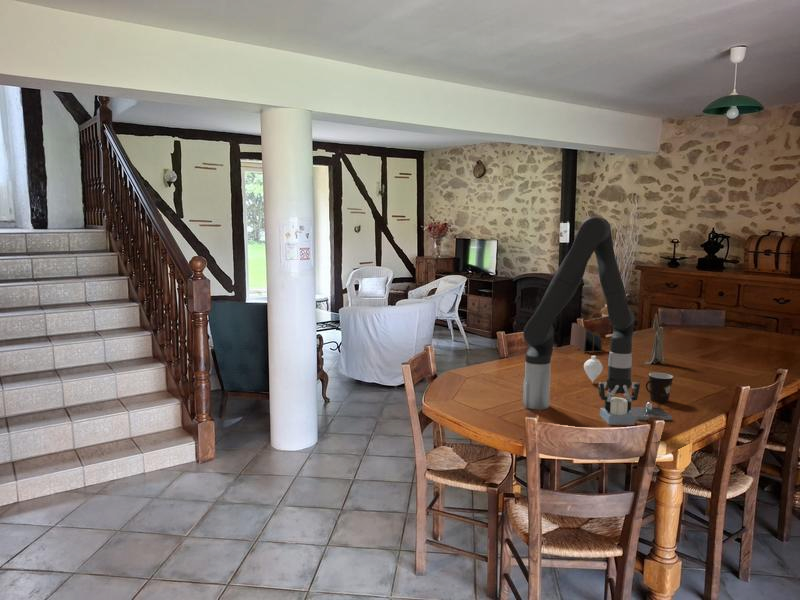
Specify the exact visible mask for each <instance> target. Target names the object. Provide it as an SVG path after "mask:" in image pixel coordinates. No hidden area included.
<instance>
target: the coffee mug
mask: <svg viewBox="0 0 800 600" xmlns="http://www.w3.org/2000/svg"><path fill="white" fill-rule="evenodd" d="M673 379H674V375H672V374H669V373H663V372H649V374H648V380H647V382H646V383H645V389H646V391H647V392H648V393H649V396H650V397H649V399H650V401H651V402H654V403H656V404H657V403H658V404H667V403H668V402H669V401H670V395H671V390H672V384H673V381H674V380H673ZM648 385H649V388H648Z"/></svg>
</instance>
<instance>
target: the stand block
mask: <svg viewBox="0 0 800 600" xmlns="http://www.w3.org/2000/svg"><path fill="white" fill-rule="evenodd" d="M599 409H600V410H599V416H600V418H601V419H602V420H603V421H604V422H605V423H606V424H607V425H609V426H610V425H611V426H612V425H613V426H615V425H616V426H621V425H622V426H635V425H636V419H635V416H634V415H633V414H632V413H631V412H630V411H629V412H627V414H625V415H615V414H611V413H609V412H607V411H606V409H605V407H599Z"/></svg>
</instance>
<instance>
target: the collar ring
mask: <svg viewBox="0 0 800 600" xmlns="http://www.w3.org/2000/svg"><path fill="white" fill-rule="evenodd" d="M610 402H611V404H610V412H609V413H611V414H615V415H625V414H627V405H628V401H627V400H626V398H625V397H624V398H623V397H617V396H613V397H612V398H611V400H610Z"/></svg>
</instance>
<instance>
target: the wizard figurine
mask: <svg viewBox="0 0 800 600" xmlns="http://www.w3.org/2000/svg"><path fill="white" fill-rule="evenodd" d="M659 324H660V323H659V319H658V314H657V313H655V314H654V318H653V326H652V329H654V330H656V329H657V328H658V329H657V331H656V333H655V336H654V341H653V344H652V345H653V346H652V351H651V356H650V360H648V361H645V362H644V364H645V365H651V364H652V363H653V364H654V365H656V364H657V363H659V364H662V365H665V360H664V359H665V358H664V353H663V352H664V345H663V342H664V341H663V340H665V339H666V338H665V335H664V331H665V329H664V327H662V326H660V325H659Z"/></svg>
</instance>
